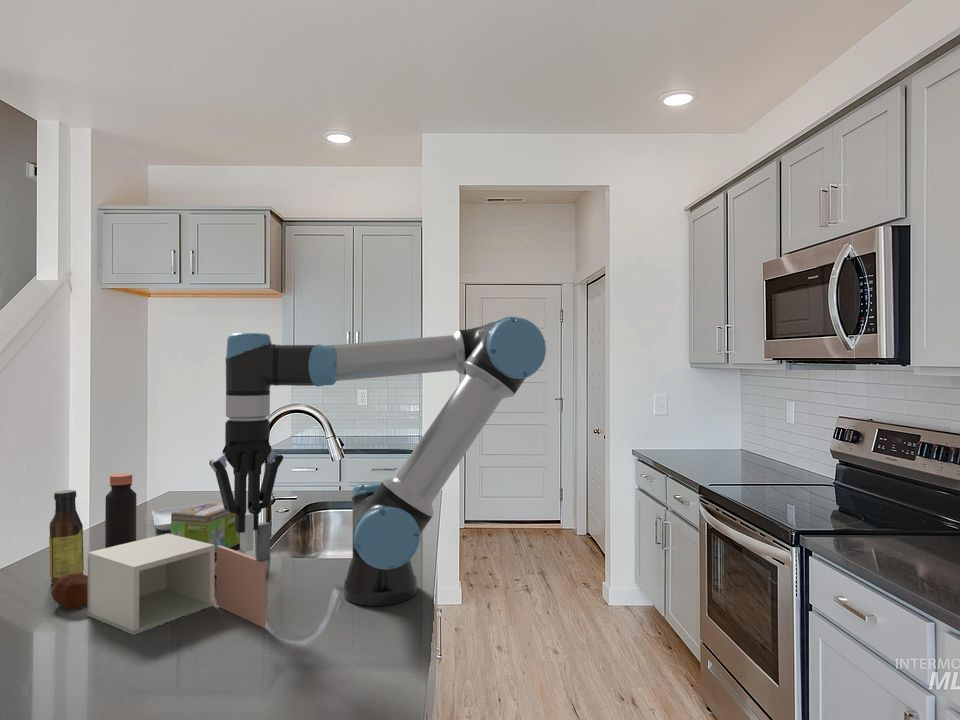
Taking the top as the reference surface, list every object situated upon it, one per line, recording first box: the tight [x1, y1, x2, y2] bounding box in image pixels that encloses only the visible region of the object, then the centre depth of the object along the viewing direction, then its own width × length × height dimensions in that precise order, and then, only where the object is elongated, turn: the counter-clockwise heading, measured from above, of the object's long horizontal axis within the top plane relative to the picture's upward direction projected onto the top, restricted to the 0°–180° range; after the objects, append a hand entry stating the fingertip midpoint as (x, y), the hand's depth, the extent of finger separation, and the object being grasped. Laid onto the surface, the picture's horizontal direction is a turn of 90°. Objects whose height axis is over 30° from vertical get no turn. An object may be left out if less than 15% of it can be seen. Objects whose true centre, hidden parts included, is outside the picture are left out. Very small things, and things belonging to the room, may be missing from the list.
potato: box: [51, 573, 88, 610], centre depth 124 cm, size 7×9×6 cm
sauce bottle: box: [48, 489, 85, 586], centre depth 138 cm, size 7×6×20 cm
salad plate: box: [151, 504, 196, 532], centre depth 190 cm, size 21×21×3 cm
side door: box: [216, 522, 271, 628], centre depth 119 cm, size 16×2×18 cm, turn 50°
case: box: [87, 533, 215, 636], centre depth 122 cm, size 16×16×12 cm
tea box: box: [170, 499, 246, 577], centre depth 146 cm, size 15×10×15 cm, turn 168°
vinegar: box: [104, 473, 137, 549], centre depth 158 cm, size 7×7×20 cm
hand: (246, 549), depth 113 cm, fingers closed
